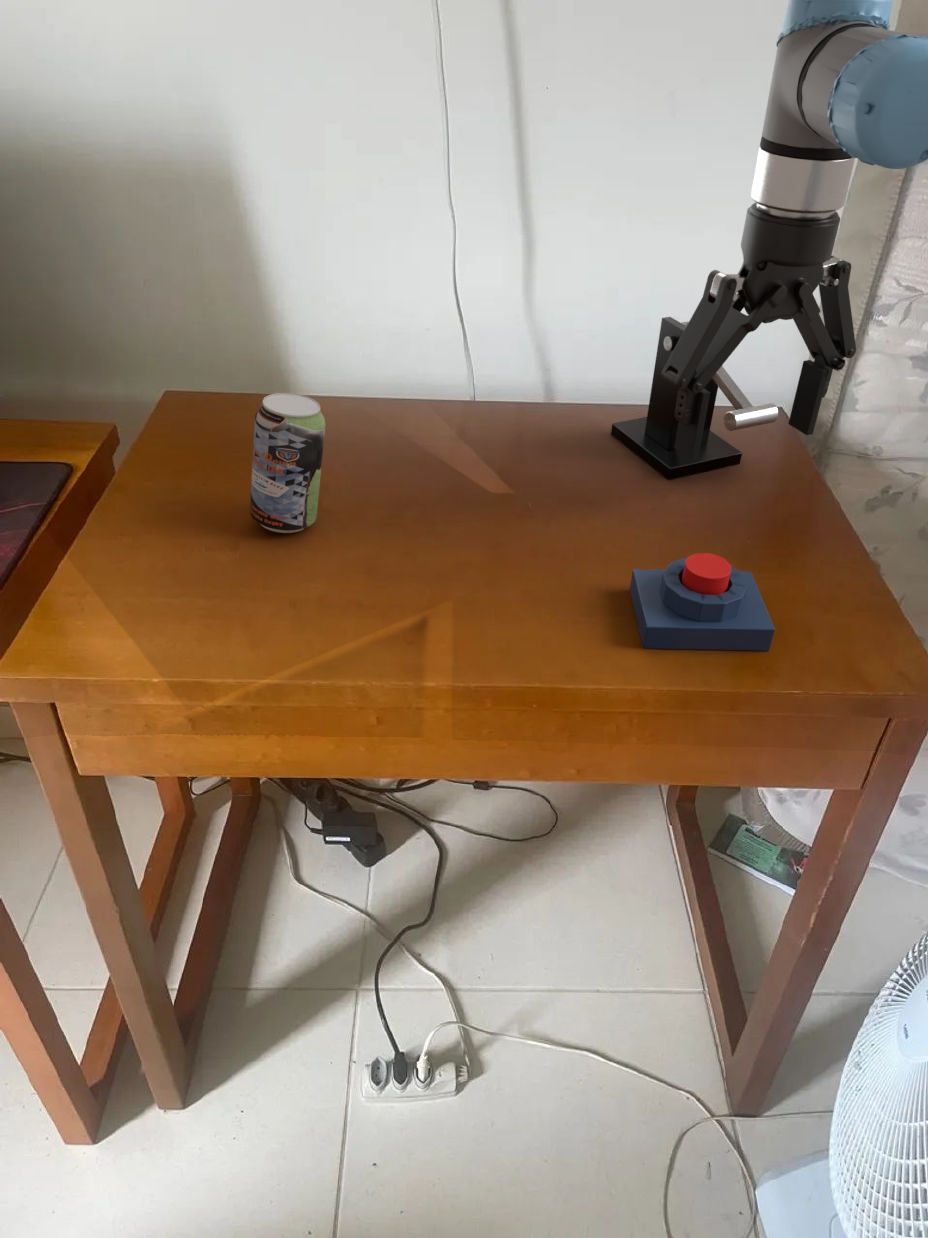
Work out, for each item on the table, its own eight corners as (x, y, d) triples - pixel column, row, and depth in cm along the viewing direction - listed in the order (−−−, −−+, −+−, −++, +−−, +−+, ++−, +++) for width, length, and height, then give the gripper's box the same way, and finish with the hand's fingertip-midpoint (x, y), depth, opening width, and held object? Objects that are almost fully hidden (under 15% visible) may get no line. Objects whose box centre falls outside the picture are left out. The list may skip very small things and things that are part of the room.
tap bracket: (740, 463, 102) (768, 335, 94) (668, 480, 99) (691, 348, 91) (678, 420, 110) (700, 298, 102) (610, 434, 107) (626, 309, 99)
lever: (771, 428, 94) (782, 409, 92) (729, 437, 92) (739, 418, 90) (701, 336, 100) (710, 317, 98) (660, 343, 98) (668, 323, 96)
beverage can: (240, 519, 91) (224, 398, 84) (309, 496, 95) (300, 379, 87) (272, 550, 87) (259, 425, 80) (343, 524, 91) (337, 404, 83)
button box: (746, 592, 84) (755, 553, 81) (769, 651, 77) (780, 610, 75) (629, 589, 84) (635, 550, 81) (643, 649, 77) (650, 608, 75)
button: (722, 571, 80) (726, 553, 79) (731, 597, 77) (736, 578, 76) (677, 570, 80) (681, 552, 79) (686, 596, 77) (689, 577, 76)
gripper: (876, 184, 88) (819, 404, 101) (642, 208, 79) (612, 446, 92) (940, 204, 83) (871, 435, 95) (698, 233, 74) (657, 482, 87)
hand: (744, 441), depth 94 cm, fingers open, 13 cm apart
